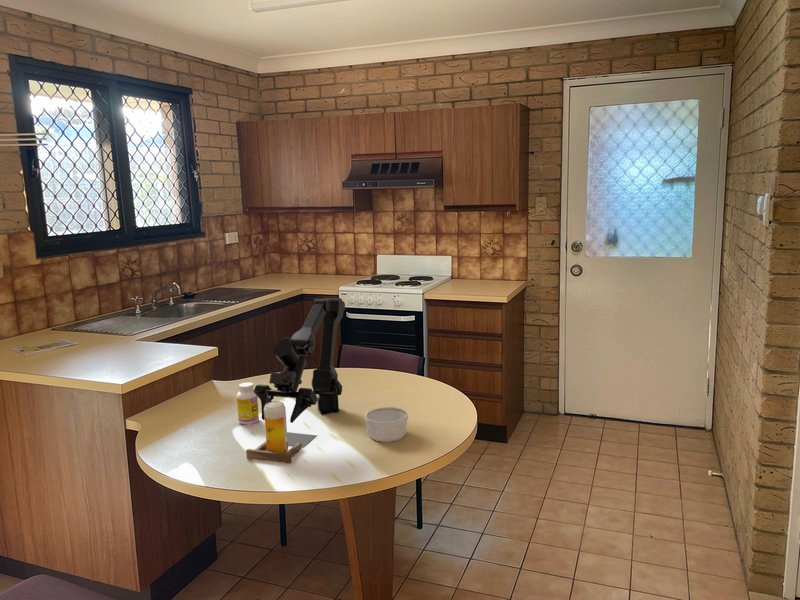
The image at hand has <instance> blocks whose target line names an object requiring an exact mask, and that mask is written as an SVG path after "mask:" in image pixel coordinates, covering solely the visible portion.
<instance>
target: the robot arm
mask: <svg viewBox="0 0 800 600" xmlns="http://www.w3.org/2000/svg"><path fill="white" fill-rule="evenodd" d="M311 306H312V307H311V309H310V311H309V313H308V315H307V317H306V319H305V320H304V323H303V325H302V327H301V328H300V329H299V330H297V331H296V332H294V334H293V335H292V336H291V338H290V337H283V338H282V340H280V341H278V342H277V343H276V344H275V346H274V345H273V346H274V347H273V351H272V352H273V354H274V356H276V357H275V358H277V360H278V361H279V362H280V363H281V364H282V365H283V366H284V368H283V371H282V370H281V371H280V372H270V377H269V382H268V383H269V384H270V385H271V384H273V387H274V388H275V389H272V388H271V387H270V386H269V385H268V384H259V383H258V384H256V385H255V386H254V388H253V390H254V391H253V392H254V393H255V394H256V395H257V399H259V400H260V404H261V405H260V406H261V419H262V420H263V421H265V418H264V407H265V404H266V403H269V402H273V401H272V400H273V399H274V398H275V397H277V398H289V399H295V404H294V407H293V409H292V413H291V415H290V418H289V422H290V423H291V424H292V423H294V422H295V420H297V419H298V418H299V416H301V414H302V413H304V412H305V411H306V410H308V408H311V407H312V405H313V406H315V405H317V411H318V412H319V414H321V415H327V414H336V413H340V412H341V410H340V408H339V396H341V395H342V392H343V385H342V383H341V382H340V381H339V379H338V377H339V375H338V372H337V370H336V368H335V358H336V357H335V354H336V344H337V342H336V341H337V335H338V334H337V333H338V325H339V323H340V322H341V320H342V319H343V317H344V311H345V309H346V303H345V301H344V300H343V299H342V298H341V297H323V298H322V299H321V298H320V299H318V298H317V299H314V300H313V301H312V305H311ZM322 323H323V325H322V335H321V345H320V356H319V365H318V366H317V367H316V368H314V369H313V371H312V379H311V386H312V387H311V388H310V387H309V388H307V387H300V388H299V386H300V385H302V384H303V381H302V376H303V373H304V369H305V368H308V367H309V363H307V359H306V358H304V357H303V356H307V357H309V356H312V354H313V353H314V352H315V350H316V346H317V342H316V335H317V333H318V331H319V329H320V327H321V324H322ZM276 388H277V389H276ZM317 395H318V396H317Z"/></svg>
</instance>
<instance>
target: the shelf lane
mask: <svg viewBox="0 0 800 600" xmlns="http://www.w3.org/2000/svg"><path fill="white" fill-rule="evenodd" d="M302 449H303V447H302V443H301V442H298V443H297V444H296V445H294V446H291V448H289V449H288V451H287V452H286V453H279V452H271V451H267V444H266V440H265V441H264V442H263V443H261V444H260V445H258V446H257V447H256V448H255V449H251V448H247V449H246V450H245V454H246V459H247V458H250V459H249V460H255V459H257V461H265V462H266V461H267V462H272V463H273V462H274V463H282V464H289V465H290V464H292V463H293V457H294V456H296V454H298V453H299V452H300V451H301V450H302Z"/></svg>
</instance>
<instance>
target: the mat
mask: <svg viewBox="0 0 800 600" xmlns="http://www.w3.org/2000/svg"><path fill="white" fill-rule="evenodd" d="M316 437H317V435H316V434H308V433H301V432H300V433H299V432H290V431H289V432H288V431H287V439H288V447H293V446H294V445H296V444H297V443H298V442H301V443H302V448H305V446H307V445H308V444H309V443H310V442H311V441H312V440H314V439H315V438H316Z"/></svg>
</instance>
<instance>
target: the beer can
mask: <svg viewBox="0 0 800 600" xmlns="http://www.w3.org/2000/svg"><path fill="white" fill-rule="evenodd" d="M286 415H287V412H286V406H285V404H284V402H283V401H278V400H277V401H275V400H274V401H272V402H269V403H266V404H265V407H264V418H265V420H264V429H265V430H264V431H265V441H266V444H267V450H266V451H271V452H279V453H286V452H287V451H289V446H288V439H287V432H288V430H287V429H288V427H287V425H288V424H287V416H286Z"/></svg>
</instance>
